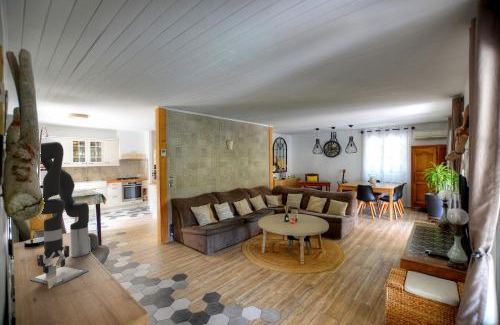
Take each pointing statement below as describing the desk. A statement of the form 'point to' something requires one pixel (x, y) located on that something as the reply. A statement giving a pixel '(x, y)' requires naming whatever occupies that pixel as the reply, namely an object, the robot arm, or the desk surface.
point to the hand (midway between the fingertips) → (54, 269)
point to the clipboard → (60, 275)
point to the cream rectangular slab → (52, 282)
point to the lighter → (53, 267)
